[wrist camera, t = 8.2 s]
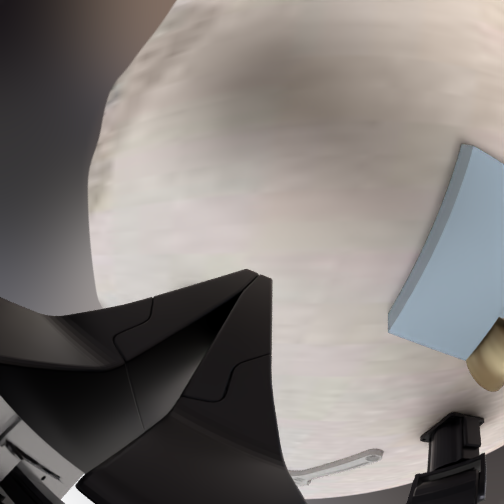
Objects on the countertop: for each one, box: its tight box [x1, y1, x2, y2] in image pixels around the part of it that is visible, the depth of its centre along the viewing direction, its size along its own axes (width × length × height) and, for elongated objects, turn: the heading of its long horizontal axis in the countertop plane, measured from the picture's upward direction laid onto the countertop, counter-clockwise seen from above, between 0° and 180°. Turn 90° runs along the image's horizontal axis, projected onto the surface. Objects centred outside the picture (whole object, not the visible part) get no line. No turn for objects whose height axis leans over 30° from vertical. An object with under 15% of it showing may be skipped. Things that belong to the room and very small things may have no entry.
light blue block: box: [388, 144, 504, 361], centre depth 13 cm, size 14×13×5 cm
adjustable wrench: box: [289, 449, 383, 486], centre depth 34 cm, size 25×6×2 cm, turn 145°
